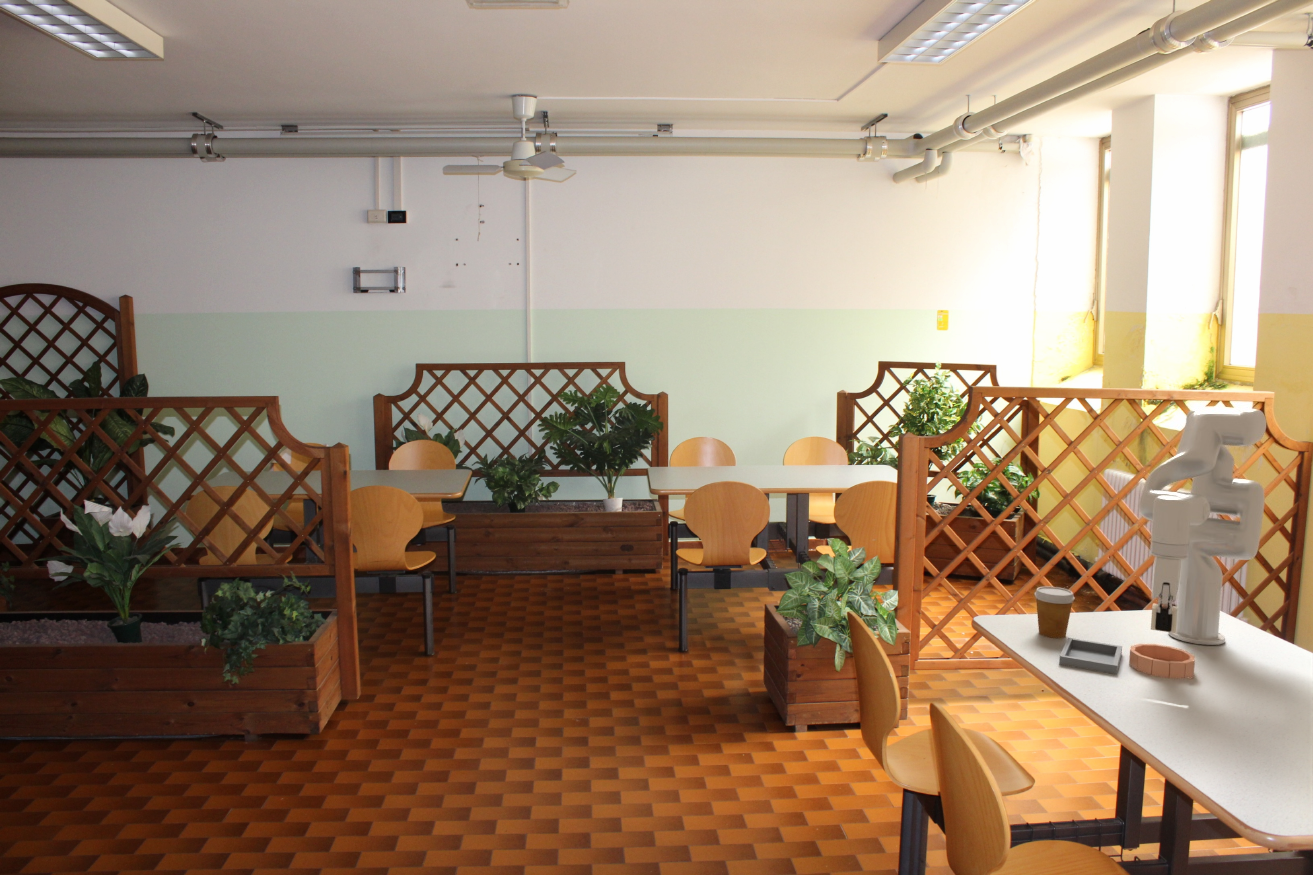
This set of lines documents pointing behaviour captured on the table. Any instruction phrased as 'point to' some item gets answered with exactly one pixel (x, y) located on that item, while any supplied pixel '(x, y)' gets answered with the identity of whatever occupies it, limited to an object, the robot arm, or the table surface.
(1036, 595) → the disposable coffee cup
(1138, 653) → the bowl
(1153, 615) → the cream beige cube
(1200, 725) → the table surface
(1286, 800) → the table surface
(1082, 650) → the parts tray
